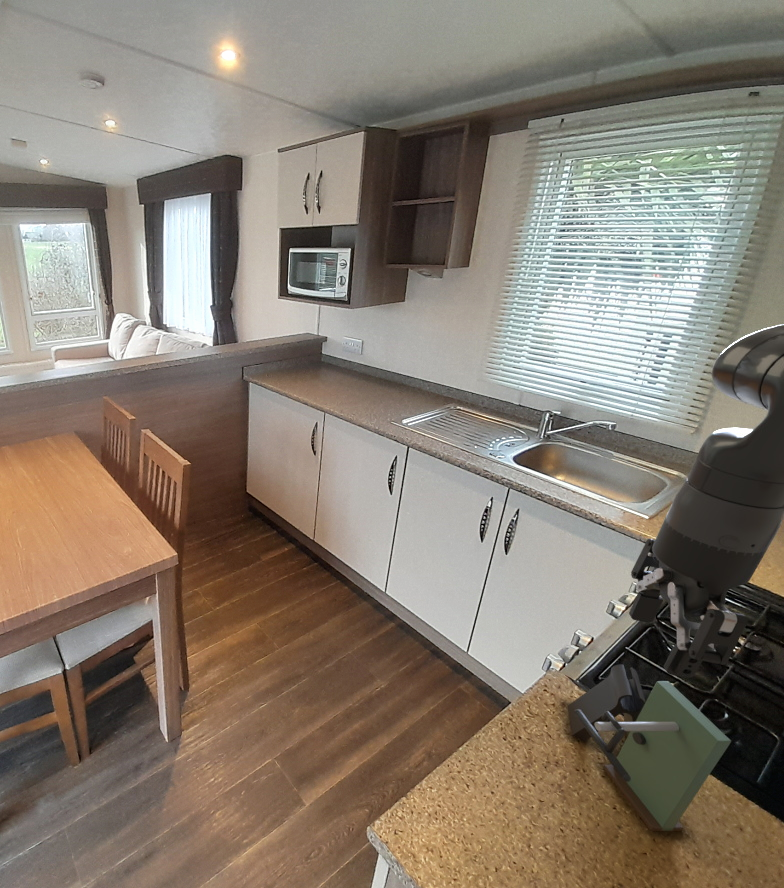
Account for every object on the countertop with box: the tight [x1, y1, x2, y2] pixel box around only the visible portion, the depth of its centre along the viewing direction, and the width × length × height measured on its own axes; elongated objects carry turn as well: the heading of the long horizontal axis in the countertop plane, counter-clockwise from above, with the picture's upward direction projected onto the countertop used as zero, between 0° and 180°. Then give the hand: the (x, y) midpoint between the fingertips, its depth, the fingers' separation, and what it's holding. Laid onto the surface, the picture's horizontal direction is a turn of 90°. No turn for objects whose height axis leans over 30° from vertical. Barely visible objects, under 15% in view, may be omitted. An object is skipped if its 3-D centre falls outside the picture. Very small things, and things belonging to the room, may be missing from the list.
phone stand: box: [567, 664, 647, 742], centre depth 71 cm, size 9×6×12 cm, turn 58°
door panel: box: [595, 680, 732, 832], centre depth 61 cm, size 8×12×18 cm, turn 89°
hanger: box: [575, 709, 631, 782], centre depth 60 cm, size 9×1×5 cm, turn 179°
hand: (656, 644), depth 56 cm, fingers open, 8 cm apart
